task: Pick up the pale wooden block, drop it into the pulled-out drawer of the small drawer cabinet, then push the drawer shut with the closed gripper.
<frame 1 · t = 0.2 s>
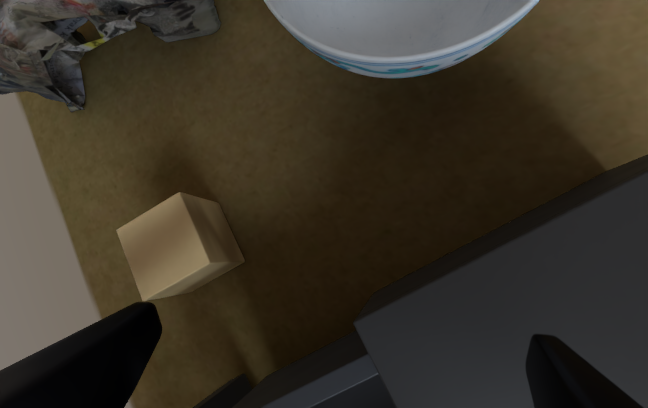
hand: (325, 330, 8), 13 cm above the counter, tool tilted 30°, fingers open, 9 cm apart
drawer cabinet: (551, 338, 19), on the counter
chinaware: (402, 16, 24), on the counter
foil: (143, 41, 28), on the counter
block: (204, 247, 24), on the counter
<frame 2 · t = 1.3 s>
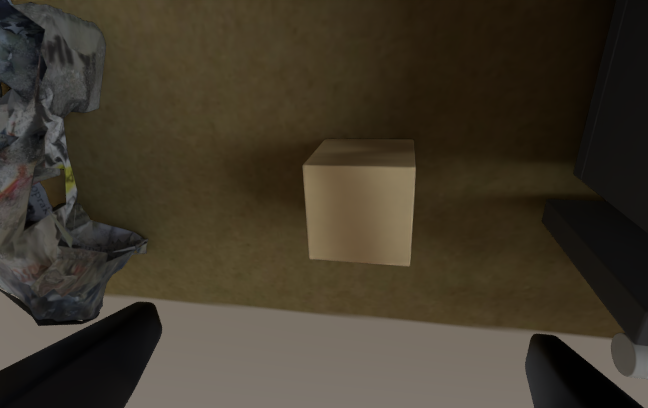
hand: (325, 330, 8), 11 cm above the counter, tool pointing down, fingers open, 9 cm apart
foil: (89, 140, 22), on the counter
block: (367, 180, 19), on the counter
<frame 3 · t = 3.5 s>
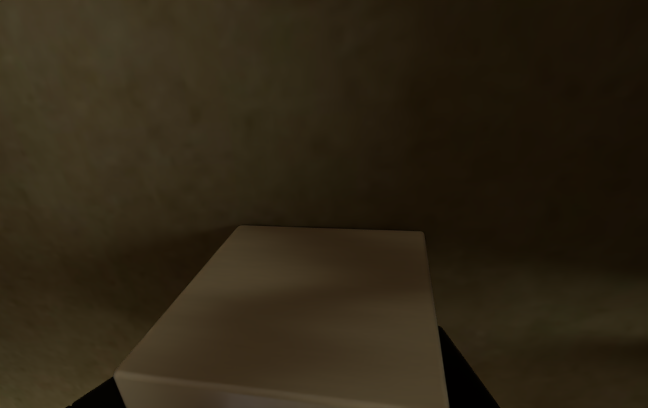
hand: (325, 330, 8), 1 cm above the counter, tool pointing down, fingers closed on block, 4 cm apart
block: (331, 302, 9), on the counter, touching gripper
when the fingers open (9 cm above the counter, at t = 22.3 s): block drops 6 cm, resting on pulled-out drawer.
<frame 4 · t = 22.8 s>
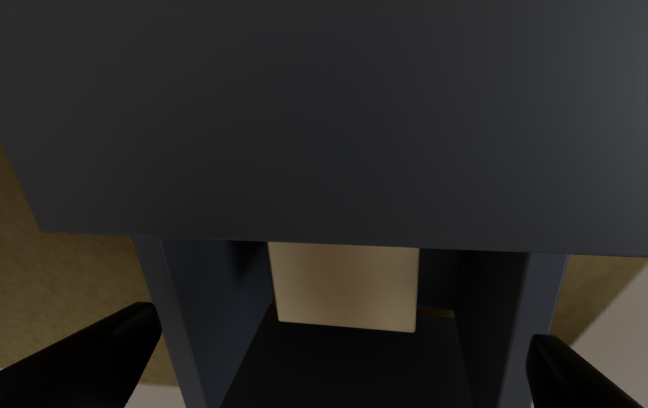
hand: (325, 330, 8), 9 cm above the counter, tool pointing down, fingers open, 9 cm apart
pulled-out drawer: (350, 308, 13), point 5 cm above the counter, slide at 9.0 cm, touching block
block: (356, 207, 15), point 2 cm above the counter, touching pulled-out drawer
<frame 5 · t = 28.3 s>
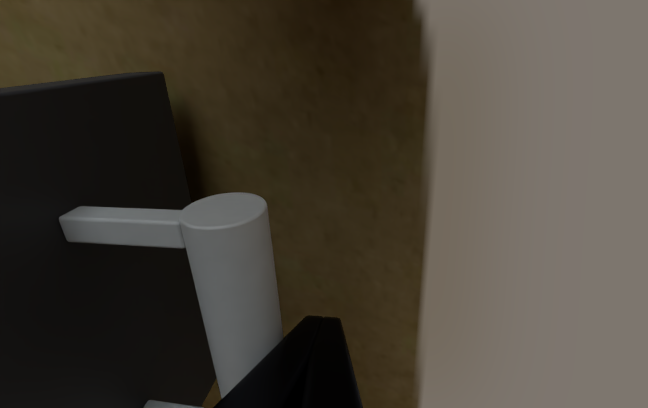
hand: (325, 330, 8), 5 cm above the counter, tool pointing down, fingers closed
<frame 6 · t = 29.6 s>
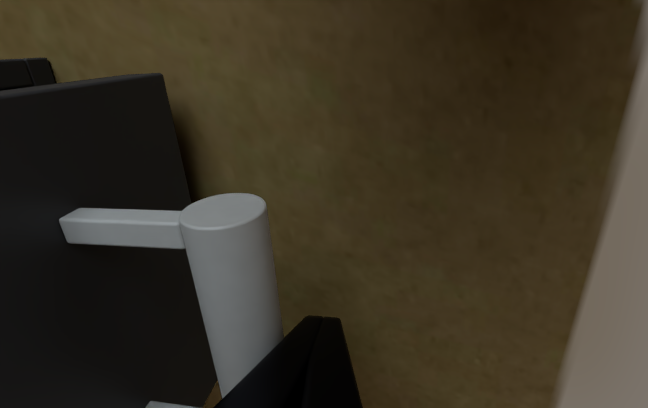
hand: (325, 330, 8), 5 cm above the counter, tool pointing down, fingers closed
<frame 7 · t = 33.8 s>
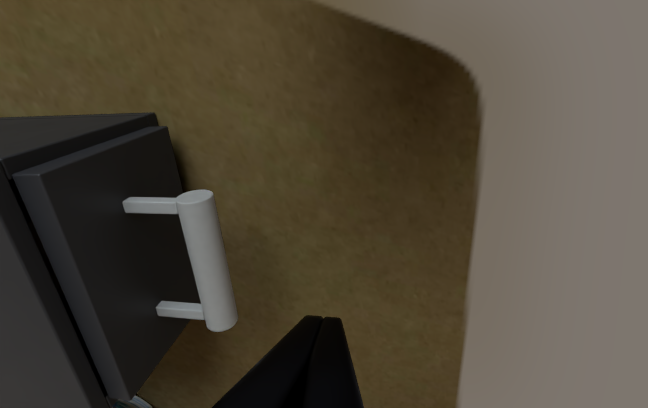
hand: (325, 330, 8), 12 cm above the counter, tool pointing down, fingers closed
drawer cabinet: (82, 210, 24), on the counter
pulled-out drawer: (73, 250, 19), point 5 cm above the counter, slide at 0.0 cm, touching block
block: (70, 224, 22), point 2 cm above the counter, touching pulled-out drawer
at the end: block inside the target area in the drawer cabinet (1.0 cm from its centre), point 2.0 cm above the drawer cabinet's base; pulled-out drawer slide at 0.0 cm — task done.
